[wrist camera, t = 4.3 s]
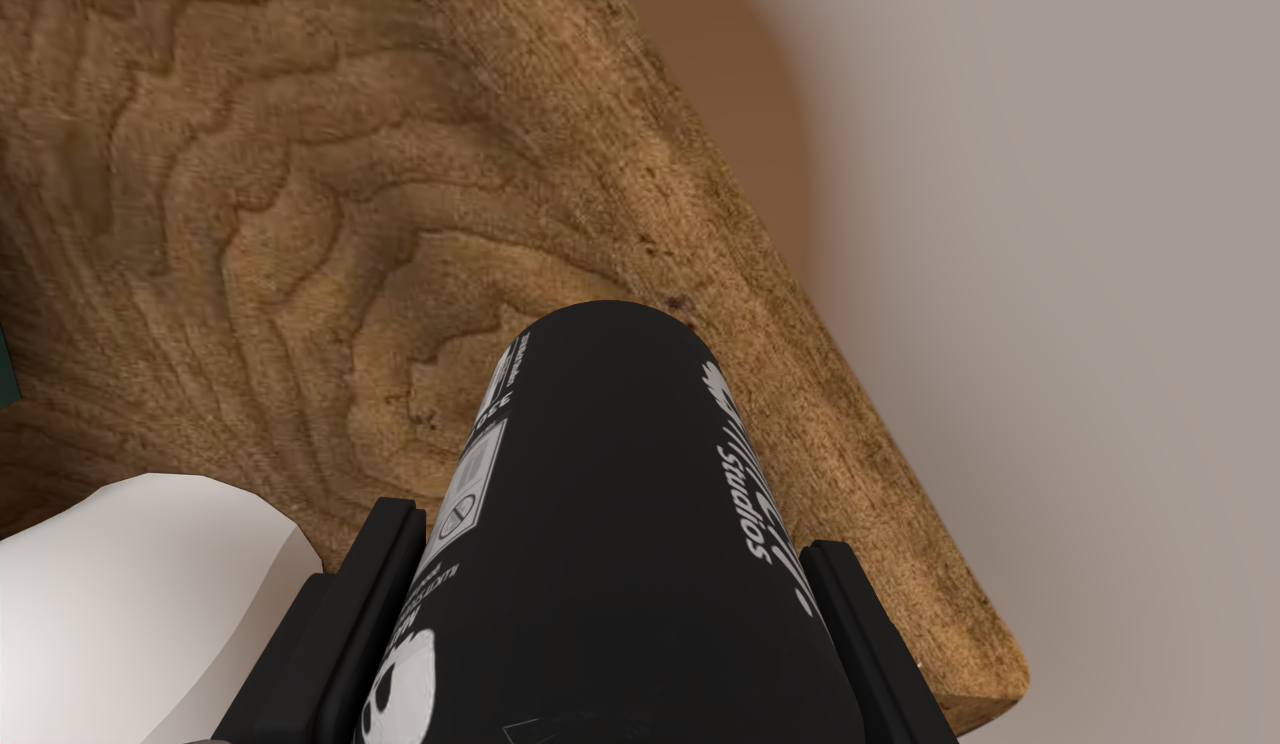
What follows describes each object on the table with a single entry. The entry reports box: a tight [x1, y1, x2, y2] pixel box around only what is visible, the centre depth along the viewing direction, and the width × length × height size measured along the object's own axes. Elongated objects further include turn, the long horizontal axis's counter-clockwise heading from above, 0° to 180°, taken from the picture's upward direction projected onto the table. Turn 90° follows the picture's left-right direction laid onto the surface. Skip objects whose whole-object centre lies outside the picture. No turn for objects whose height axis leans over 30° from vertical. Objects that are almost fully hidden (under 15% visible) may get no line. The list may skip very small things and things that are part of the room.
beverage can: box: [351, 300, 866, 744], centre depth 12 cm, size 7×7×12 cm
